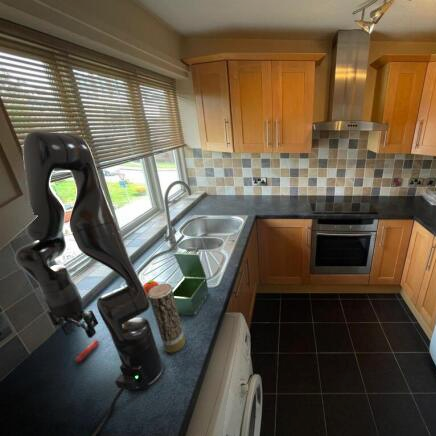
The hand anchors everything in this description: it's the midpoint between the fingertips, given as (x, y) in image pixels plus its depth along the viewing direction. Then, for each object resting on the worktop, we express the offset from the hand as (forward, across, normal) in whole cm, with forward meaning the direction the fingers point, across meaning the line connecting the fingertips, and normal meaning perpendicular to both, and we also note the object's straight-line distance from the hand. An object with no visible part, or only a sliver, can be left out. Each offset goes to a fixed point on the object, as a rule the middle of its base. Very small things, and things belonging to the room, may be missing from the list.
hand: (81, 334), depth 81 cm
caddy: (+8, +24, +27) cm, 37 cm away
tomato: (+9, +3, +30) cm, 32 cm away
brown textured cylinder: (+8, +29, +6) cm, 31 cm away
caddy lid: (-8, +24, +32) cm, 40 cm away
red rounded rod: (+8, 0, -1) cm, 8 cm away
